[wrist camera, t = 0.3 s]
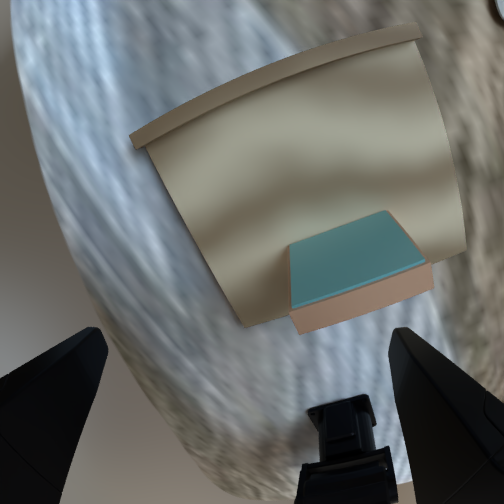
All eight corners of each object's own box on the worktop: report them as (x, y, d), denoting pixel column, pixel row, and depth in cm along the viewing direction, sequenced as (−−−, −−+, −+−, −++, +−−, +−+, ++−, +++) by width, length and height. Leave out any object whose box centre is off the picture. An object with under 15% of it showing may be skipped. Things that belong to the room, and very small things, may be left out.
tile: (393, 230, 20) (434, 287, 13) (295, 265, 21) (299, 334, 15) (387, 207, 19) (430, 259, 13) (286, 244, 21) (287, 310, 15)
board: (460, 244, 20) (475, 258, 18) (246, 319, 25) (242, 340, 23) (402, 28, 14) (416, 21, 12) (144, 130, 19) (128, 135, 17)
